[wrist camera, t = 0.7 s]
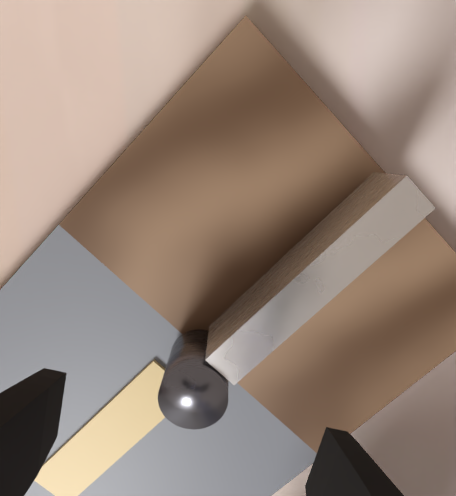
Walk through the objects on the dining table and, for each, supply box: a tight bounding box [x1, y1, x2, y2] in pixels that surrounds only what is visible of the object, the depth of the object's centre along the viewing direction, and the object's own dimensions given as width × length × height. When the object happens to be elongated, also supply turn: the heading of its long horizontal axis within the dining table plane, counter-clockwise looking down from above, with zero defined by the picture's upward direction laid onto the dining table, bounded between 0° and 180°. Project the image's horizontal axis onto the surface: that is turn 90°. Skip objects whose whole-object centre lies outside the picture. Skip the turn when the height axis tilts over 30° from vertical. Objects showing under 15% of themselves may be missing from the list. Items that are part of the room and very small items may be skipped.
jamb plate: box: [59, 16, 456, 453], centre depth 17 cm, size 18×12×1 cm, turn 45°
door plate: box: [0, 225, 317, 496], centre depth 20 cm, size 18×14×1 cm
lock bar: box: [158, 172, 435, 430], centre depth 15 cm, size 13×3×3 cm, turn 135°
